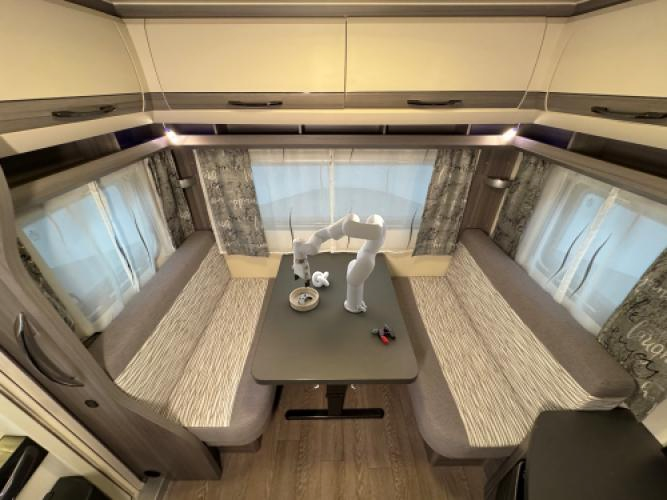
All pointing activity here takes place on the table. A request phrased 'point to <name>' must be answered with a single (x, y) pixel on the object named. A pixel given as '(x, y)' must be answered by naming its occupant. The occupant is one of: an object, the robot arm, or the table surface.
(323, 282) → the white knot sculpture
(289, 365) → the table surface
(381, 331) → the toy gun
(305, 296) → the game controller
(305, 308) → the bowl
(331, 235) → the robot arm
